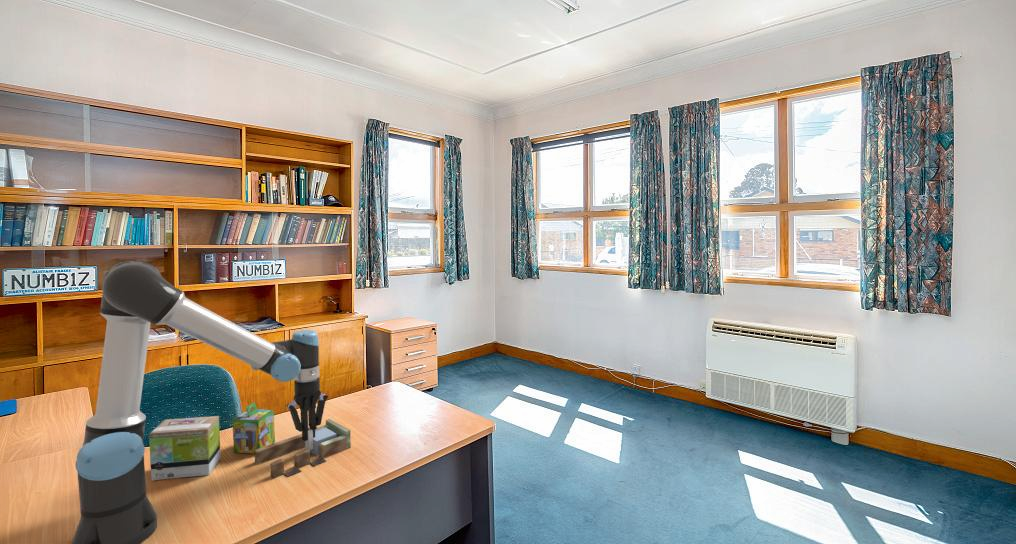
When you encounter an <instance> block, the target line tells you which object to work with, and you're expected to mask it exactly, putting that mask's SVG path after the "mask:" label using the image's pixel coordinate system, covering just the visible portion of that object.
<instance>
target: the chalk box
mask: <svg viewBox="0 0 1016 544" xmlns="http://www.w3.org/2000/svg"><path fill="white" fill-rule="evenodd" d="M252 408H253V409H252ZM245 409H246V410H245V411H243V412H242V413H240V414H238V415H236V416H235V417H233V418H232V419H231V421H232V438H233V441H232V442H233V453H234V454H252V455H253V454H254V450H256V449H259V448H262V447H265V446H268V445H271V444H274V443H276V439H275V438H276V436H275V434H276V433H275V411H274V409H263V408H261V409H260V408H258V407H257V404H256V402H252V403H250V404H249V405H247V406H246V407H245ZM254 455H255V454H254Z"/></svg>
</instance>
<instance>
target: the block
mask: <svg viewBox="0 0 1016 544" xmlns="http://www.w3.org/2000/svg"><path fill="white" fill-rule="evenodd" d="M336 437H337V434H336V433H334V432H333V431H331V430H329V429H327V428H323V429H320V430H318V431H315V438H313V449H312V450H310V453H312V454H313V455H314V456H315V457H316V456H318V457H319V445H320V443H323V442H325V441H328V440H331V439H333V438H336Z"/></svg>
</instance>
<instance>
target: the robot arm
mask: <svg viewBox="0 0 1016 544" xmlns="http://www.w3.org/2000/svg"><path fill="white" fill-rule="evenodd" d="M99 314H100V315H101V316H102V317H103V318H104V319H105V320H106V326H105V327H106V328H105V336H104V344H103V351H102V359H101V366H100V367H101V368H100V373H99V374H100V375H99V382H98V383H99V384H98V391H97V400H96V406H95V407H96V408H95V414H94V415H92V416H91V417H89V419H87V420H86V423H85V430H84V431H85V432H84V435H83V437H84V438H83V442H82V446H81V447H80V449H79V450H78V452H77V455H76V460H75V469H76V472H77V482H78V493H79V495H78V496H79V508H80V518H79V521H78V524H77V526H76V530H75V532H74V536H73V539H72V543H71V544H141V543H143V542H144V541H146V540H147V539H148V538H150V537H151V536H152V534H154V532H155V531H156V530H157V527H158V515H157V512H156V510H155V509H154V507H153V505H152V504H151V502H150V500H149V499H148V496H147V486H146V468H145V444H144V436H145V427H146V419H147V416H146V414H144V413H143V412H142V411H141V410H140V408H141V402H142V392H143V385H144V379H145V370H146V363H147V355H148V354H147V353H148V347H149V346H148V345H149V339H150V337H149V336H150V330H151V324H153V325H155V326H159V325H166V326H168V327H169V328H172V329H174V330H175V331H178V332H180V333H182V334H184V335H186V336H189V337H191V338H193V339H195V340H197V341H199V342H201V343H203V344H206V345H208V346H210V347H212V348H213V349H216V350H218V351H220V352H223V354H224V353H225V354H226V355H229V356H231V357H233V358H235V359H237V360H239V361H241V362H243V363H245V364H248V365H250V367H251V369H252V370H253V371H256V370H257V371H258V370H260V371H261V372H264V373H266V374H268V375H269V376H271V377H272V378H273V379H275V380H277V381H278V382H281V383H287V382H290V381H292V380H293V386H294V391H293V392H294V397H293V398H292V399H293V400H292V401H291V402H290V403H287V404H286V405H285V407H286V408H287V409H288V410H289V412H290V413H289V414H290V415H291V419H292V422H293V425H294V428H295V430H297V432H298V431H299V432H300V433H301V434H302V439H303V440H304V441H305V447H304V449H305V450H306V449H307V450H308V451H310V450H312V449H313V438H315V430H316V429H317V428H318V427H319V426H321V424H322V421H323V414H324V409H325V405H326V401H328V397H329V396H328V395H327V394H325V393H322V391H321V390H320V389H321V385H320V384H321V383H320V381H321V380H320V350H319V349H320V348H319V347H320V344H319V343H320V342H319V335H318V333H317V331H315V330H311V329H305V330H304V329H302V330H299V331H298V330H297V331H295V332H293V333H292V335H291V339H286V340H280V341H279V340H278V341H273V342H270V341H269V340H267V339H265V338H262V337H261V336H259V335H257V334H255V333H253V332H252V331H249V330H248V329H245V328H244V327H242V326H240V325H238V324H237V323H234V322H233V321H230V320H229V319H226V318H225V317H223V316H221V315H219V314H217V313H215V312H213V311H212V310H210V309H208V308H206V307H204V306H203V305H201V304H198V303H196V302H195V301H193V300H191V299H190V298H187V297H186V295H185V292H184V291H183V290H181V289H179V288H178V287H176V286H174V285H172V284H171V283H170V282H169V281H167V280H166V279H165V278H164V277H163V276H162V274H161V272H160V271H159V270H158V269H157V268H156V267H154V265H152V264H149V263H147V262H144V261H138V260H131V261H130V260H128V261H123V262H120V263H117V264H115V265H113V266H112V267H110V269H109V270H108V271H107V272H106V273H105V274H104V277H103V280H102V294H101V302H100V310H99ZM297 405H298V407H299V410H300V416H299V411H298V410H297Z"/></svg>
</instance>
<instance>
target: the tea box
mask: <svg viewBox="0 0 1016 544" xmlns="http://www.w3.org/2000/svg"><path fill="white" fill-rule="evenodd" d="M220 438H221V437H220V415H214V416H213V415H212V416H199V417H198V416H197V417H186V418H171V419H170V418H169V419H164V420H162V422H160V424H158V426H156V427H155V428H154V429H153V430H152V431H150V433H149V434H148V439H149V440H148V441H149V442H148V443H149V460H150V461H149V462H150V464H149V465H150V476H151V477H150V478H151V481H152V482H153V481H159V480H167V479H169V480H170V479H178V478H188V477H189V478H190V477H201V476H209V475H210V474H211V472H212V471H213V470H214V468H215V467H216V466H217V464H218V463H219V461H220V459H221V439H220Z"/></svg>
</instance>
